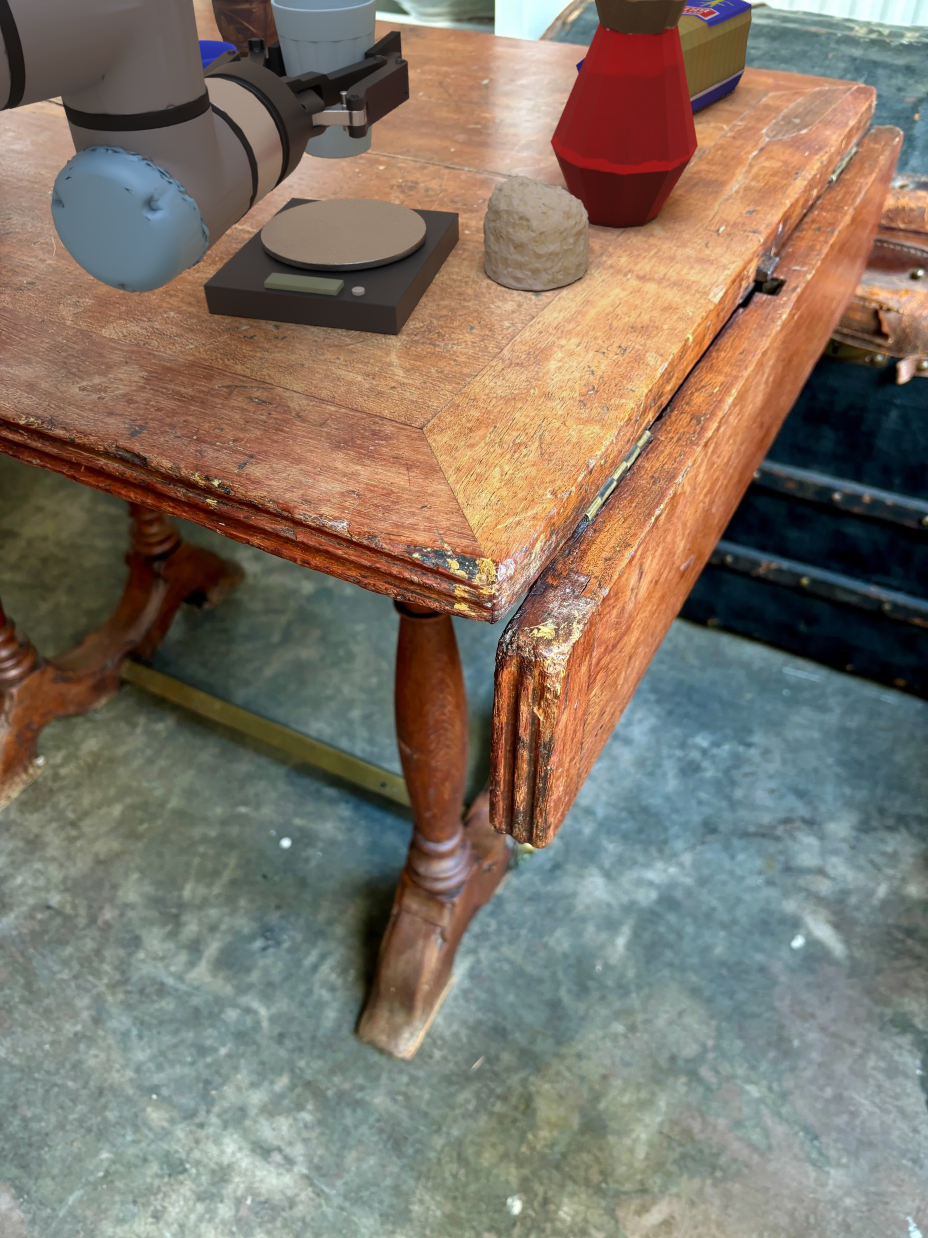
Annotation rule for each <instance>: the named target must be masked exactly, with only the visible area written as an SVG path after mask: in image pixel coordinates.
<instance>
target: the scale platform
mask: <svg viewBox="0 0 928 1238" xmlns="http://www.w3.org/2000/svg"><path fill="white" fill-rule="evenodd" d="M409 208H410V207H409ZM409 208H408V207H407V206H404V205H401V204H398V203H395V202H390V201H386V200H379V199H373V198H362V197H361V198H358V197H357V198H354V197H353V198H352V197H349V198H348V197H346V198H332V199H323V201H317V202H311V203H307V204H303V205H299V206H296V207H293V208H291V209H288V210H285V211H283V212H281V213H279V214H277V215H276V216H274V215H273V216H274V217H273V216H272V217H273V218H272V217H271V218H270V219H268V221H266V223H265V224H264V225H263V226H264V227H263V226H262V227H263V229H262V231H261V240H262V245H263V247H264V249H265V251H266V252H267V253H268V254H269V255H271V256H272V257H273V258H275V259H277V260H279V261H281V262H284V263H286V264H289V265H292V266H296V267H301V268H306V269H313V270H325V271H345V270H358V269H365V268H372V267H376V266H381V265H385V264H388V263H391V262H394V261H397V260H400V259H402V258H404V257H406V256H408V255H410V254H411V253H413V252H415V251H416V250H417V249H418V248H419V247H420V246H421V245H422V244H423V242H424V240H425V238H426V224H425V222H424V220H423V219H422V217H421V216H420V215H418V214H417V213H416V212H414V211H413V210H411V209H412V208H410V209H409Z"/></svg>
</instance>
